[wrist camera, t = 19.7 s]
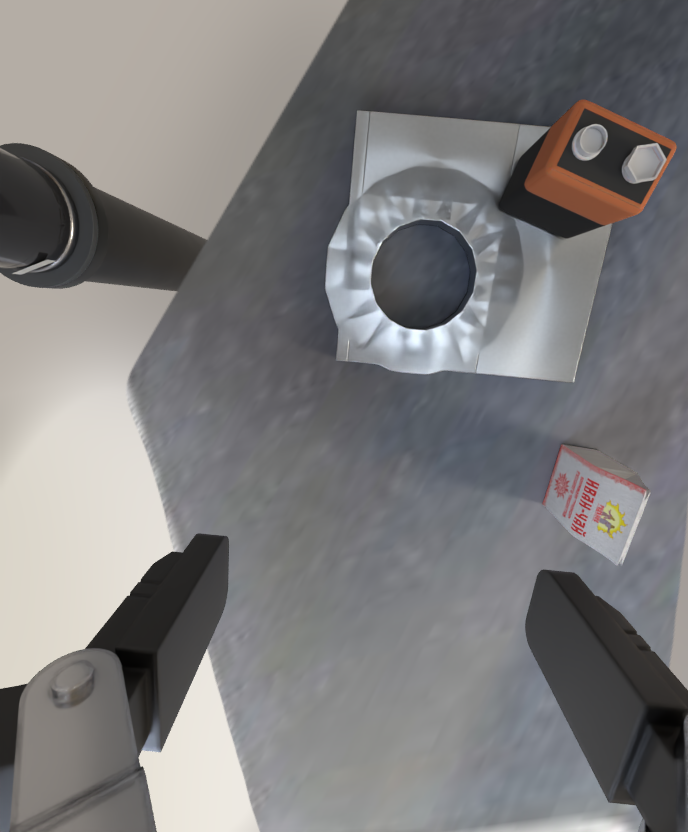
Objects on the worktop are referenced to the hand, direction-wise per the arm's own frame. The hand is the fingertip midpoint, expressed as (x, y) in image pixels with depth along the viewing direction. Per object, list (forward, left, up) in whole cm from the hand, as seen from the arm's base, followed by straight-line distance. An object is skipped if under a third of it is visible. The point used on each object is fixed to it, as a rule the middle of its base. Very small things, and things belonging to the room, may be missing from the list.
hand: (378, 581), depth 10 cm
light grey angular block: (+22, -8, -30) cm, 38 cm away
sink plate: (+8, +12, -30) cm, 33 cm away
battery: (+13, +17, -28) cm, 35 cm away
